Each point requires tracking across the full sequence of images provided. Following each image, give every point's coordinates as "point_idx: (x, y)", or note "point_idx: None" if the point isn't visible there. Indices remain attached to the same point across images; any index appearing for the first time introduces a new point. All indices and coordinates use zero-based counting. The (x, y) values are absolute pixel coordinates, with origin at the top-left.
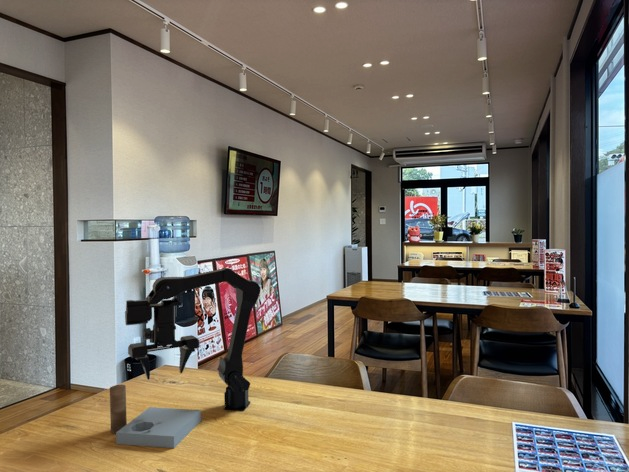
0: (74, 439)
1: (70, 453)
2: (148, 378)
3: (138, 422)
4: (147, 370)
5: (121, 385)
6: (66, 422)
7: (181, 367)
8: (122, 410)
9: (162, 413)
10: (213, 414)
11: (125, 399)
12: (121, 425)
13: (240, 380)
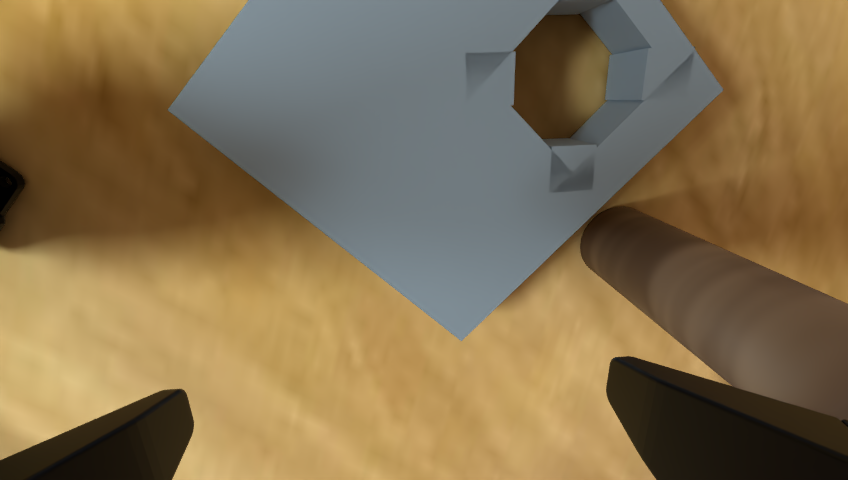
0: (777, 264)
1: (844, 130)
2: (634, 361)
3: (579, 157)
4: (782, 413)
5: None
6: None
7: (116, 442)
8: (684, 249)
9: (422, 208)
10: (109, 161)
11: (705, 297)
12: (636, 217)
13: None
